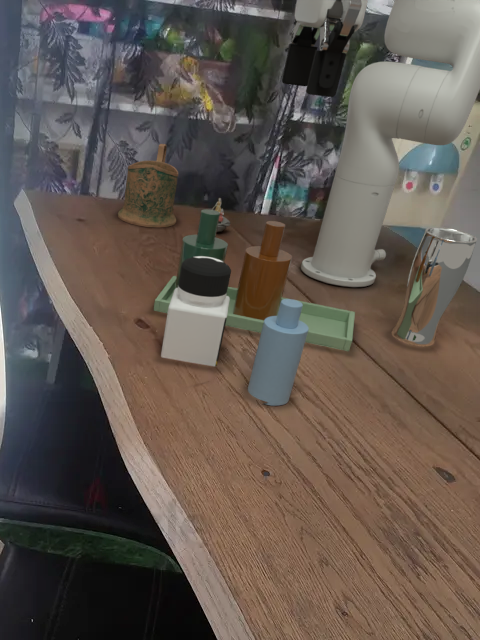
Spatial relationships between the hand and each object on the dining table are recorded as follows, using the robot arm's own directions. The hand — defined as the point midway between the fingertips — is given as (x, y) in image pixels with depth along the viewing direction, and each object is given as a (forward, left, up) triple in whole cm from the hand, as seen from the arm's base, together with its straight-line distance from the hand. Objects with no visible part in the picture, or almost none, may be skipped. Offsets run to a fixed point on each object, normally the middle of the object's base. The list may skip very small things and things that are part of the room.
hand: (306, 89), depth 83 cm
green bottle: (0, -12, -30) cm, 32 cm away
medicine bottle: (+11, 0, -30) cm, 32 cm away
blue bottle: (+10, +13, -30) cm, 34 cm away
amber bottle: (-6, -5, -30) cm, 31 cm away
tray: (-6, -5, -30) cm, 31 cm away
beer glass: (-23, +10, -30) cm, 39 cm away
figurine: (-31, -41, -30) cm, 59 cm away
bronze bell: (-25, -54, -30) cm, 66 cm away
